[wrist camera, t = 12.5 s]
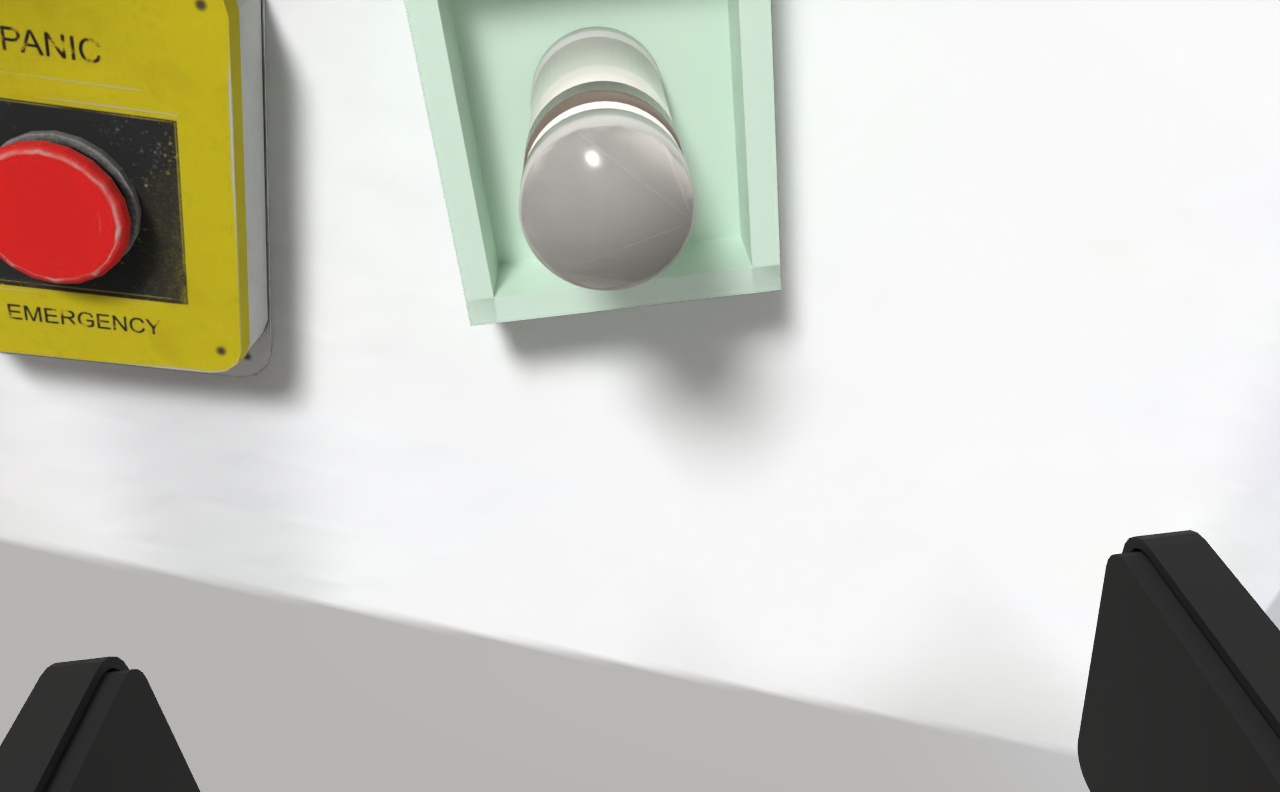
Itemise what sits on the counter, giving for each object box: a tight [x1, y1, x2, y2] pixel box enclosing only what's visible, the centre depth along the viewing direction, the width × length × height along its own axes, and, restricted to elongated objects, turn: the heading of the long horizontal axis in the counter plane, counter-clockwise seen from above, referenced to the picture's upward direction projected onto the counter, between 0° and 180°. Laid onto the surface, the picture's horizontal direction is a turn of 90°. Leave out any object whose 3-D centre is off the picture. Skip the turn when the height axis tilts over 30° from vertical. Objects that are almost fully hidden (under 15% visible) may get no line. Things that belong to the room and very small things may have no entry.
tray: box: [404, 0, 781, 326], centre depth 29 cm, size 11×9×3 cm
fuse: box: [518, 26, 696, 291], centre depth 26 cm, size 4×4×9 cm
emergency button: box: [0, 0, 272, 377], centre depth 29 cm, size 9×4×15 cm
